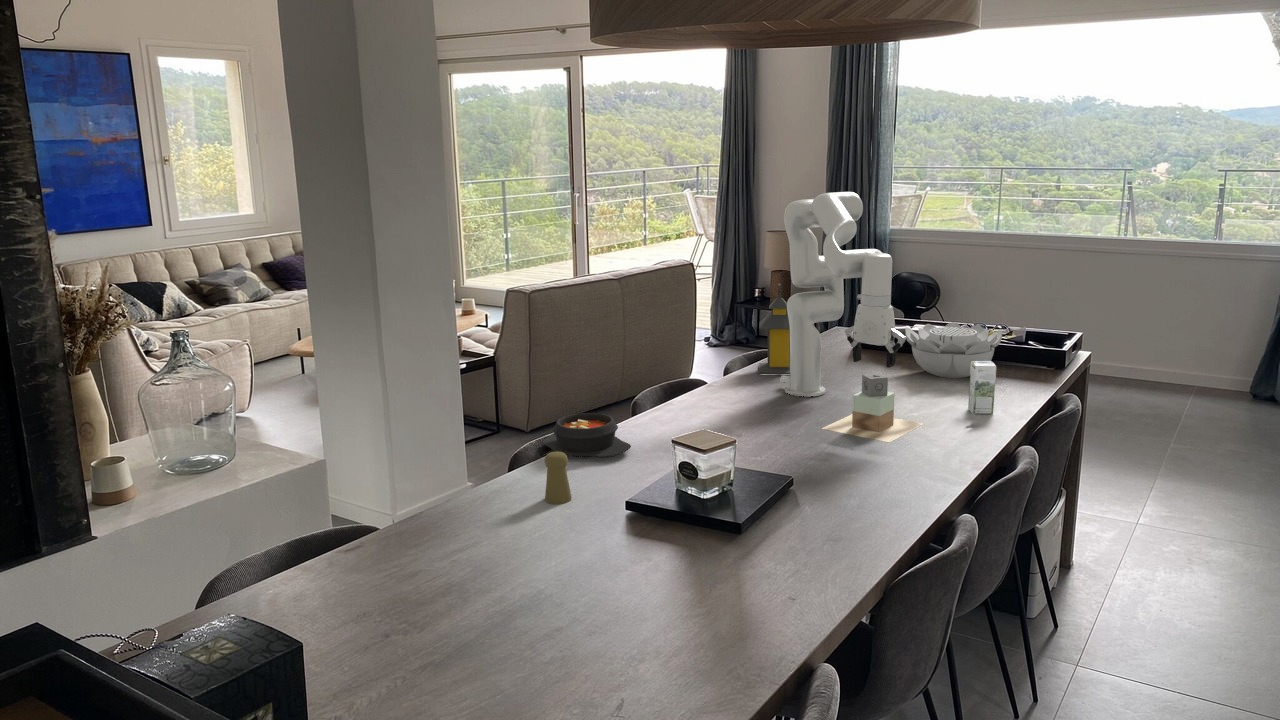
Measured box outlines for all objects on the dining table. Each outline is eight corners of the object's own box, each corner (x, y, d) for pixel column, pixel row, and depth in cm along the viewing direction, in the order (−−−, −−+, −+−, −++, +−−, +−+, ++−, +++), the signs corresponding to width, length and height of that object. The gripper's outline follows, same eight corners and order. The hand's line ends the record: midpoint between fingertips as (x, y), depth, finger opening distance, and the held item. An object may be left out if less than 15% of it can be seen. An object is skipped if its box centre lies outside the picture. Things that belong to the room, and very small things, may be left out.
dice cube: (869, 397, 249) (870, 378, 248) (861, 392, 254) (862, 374, 253) (887, 395, 250) (887, 377, 249) (879, 390, 255) (879, 373, 254)
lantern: (758, 375, 318) (758, 287, 311) (759, 365, 332) (758, 281, 325) (800, 375, 316) (801, 287, 309) (799, 365, 330) (800, 280, 323)
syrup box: (988, 409, 272) (991, 360, 268) (993, 414, 266) (996, 365, 262) (967, 409, 272) (970, 360, 269) (972, 414, 266) (975, 365, 263)
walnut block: (852, 427, 254) (852, 411, 253) (866, 420, 260) (866, 404, 259) (879, 432, 249) (879, 416, 248) (893, 425, 255) (893, 409, 254)
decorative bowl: (920, 360, 331) (921, 318, 328) (1007, 370, 314) (1010, 326, 310) (887, 379, 307) (889, 334, 304) (980, 391, 290) (983, 343, 287)
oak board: (821, 433, 254) (821, 428, 254) (857, 416, 268) (857, 411, 268) (889, 447, 241) (889, 442, 241) (923, 428, 255) (924, 423, 255)
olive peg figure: (545, 495, 216) (542, 449, 214) (571, 493, 217) (569, 448, 214) (544, 504, 210) (542, 458, 208) (571, 503, 211) (569, 456, 208)
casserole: (645, 449, 246) (644, 418, 244) (601, 470, 232) (599, 437, 230) (573, 434, 261) (571, 405, 259) (526, 453, 246) (525, 422, 244)
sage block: (852, 411, 253) (853, 394, 252) (867, 404, 259) (867, 388, 258) (879, 416, 248) (880, 399, 247) (894, 409, 254) (894, 392, 253)
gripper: (839, 299, 249) (837, 361, 254) (899, 306, 238) (897, 371, 243) (853, 295, 255) (851, 356, 259) (913, 301, 244) (910, 365, 248)
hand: (873, 363), depth 251 cm, fingers open, 9 cm apart
